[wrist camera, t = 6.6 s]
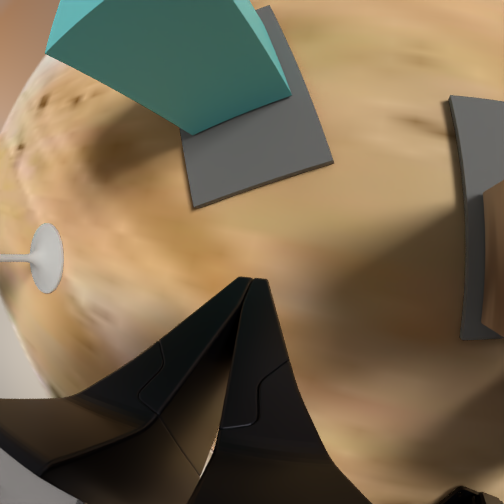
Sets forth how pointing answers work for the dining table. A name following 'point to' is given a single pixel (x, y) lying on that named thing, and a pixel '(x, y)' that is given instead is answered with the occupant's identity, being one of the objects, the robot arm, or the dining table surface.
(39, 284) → the wineglass
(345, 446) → the dining table surface
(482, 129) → the dark gray pads
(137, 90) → the teal block
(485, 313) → the walnut block
